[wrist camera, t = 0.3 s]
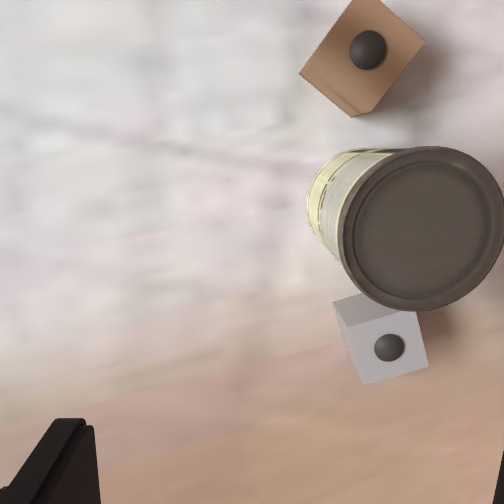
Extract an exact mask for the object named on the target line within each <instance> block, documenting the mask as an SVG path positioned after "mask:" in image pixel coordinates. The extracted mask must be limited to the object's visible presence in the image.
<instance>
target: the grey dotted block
mask: <svg viewBox="0 0 504 504" xmlns="http://www.w3.org/2000/svg"><path fill="white" fill-rule="evenodd" d="M332 303H333V306H334V309H335V313H336V316H337V320H338V323H339V326H340V330H341V333H342V337H343V340H344V343H345V347H346V350H347V353H348V355H349V357H350V359H351V361H352V363H353V365H354V367H355V369H356V371H357V373H358V375H359V377H360V379H361V381H362V382H363V384H364V386H365V385H368V384H371V383H375V382H378V381H382V380H385V379H388V378H392V377H395V376H398V375H402V374H405V373H408V372H412V371H415V370H418V369H422V368H425V367H428V366H429V365H428V361H427V357H426V352H425V348H424V344H423V340H422V336H421V331H420V327H419V323H418V319H417V315H416V312H408V311H400V310H396V309H392V308H388V307H386V306H383V305H381V304H379V303H377V302H375V301H373V300H371V299H370V298H369V297H367V296H366V295H365V294H363V293H361V294H358V295H355V296H351V297H348V298H345V299H342V300H339V301H335V302H332Z"/></svg>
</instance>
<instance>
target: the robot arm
mask: <svg viewBox="0 0 504 504" xmlns="http://www.w3.org/2000/svg"><path fill="white" fill-rule="evenodd" d="M0 504H101V500H100V489H99V478H98V467H97V456H96V446H95V435H94V428H93V426H91V425H86V421H85V419H83V418H57V419H55V420H54V421H53V423H52V424H51V425H50V427H49V428H48V430H47V431H46V433H45V434H44V436H43V437H42V438H41V440H40V441H39V443H38V444H37V446H36V447H35V449H34V450H33V451H32V453H31V454H30V456H29V457H28V459H27V460H26V462H25V463H24V465H23V466H22V467H21V469H20V470H19V472H18V473H17V475H16V476H15V478H14V479H13V480H12V482H11V483H10V485H9V486H5V487H3V488H1V489H0ZM493 504H504V451H503V456H502V461H501V466H500V471H499V475H498V480H497V485H496V490H495V495H494V499H493Z"/></svg>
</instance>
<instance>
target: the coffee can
mask: <svg viewBox="0 0 504 504" xmlns="http://www.w3.org/2000/svg"><path fill="white" fill-rule="evenodd" d="M306 213H307V218H308V222H309V225H310V227H311V229H312V231H313V233H314V234H315V236H316V237H317V239H318V240H319V241H320V242H321V243H322V244H323V245H325V246H326V248H327V249H328V250H329V251H330V252H331V254H332V255H333V256H334V257H335V258H336V259H337V261H338V262H339V263H340V264H341V265H342V267H343V268H344V269H345V271H346V273H347V274H348V276H349V277H350V279H351V280H352V282H353V283H354V284H355V285H356V287H357V288H358V289H359V290H360V291H361V292H362V293H363V294H365V295H366V296H367V297H369V298H370V299H371V300H373V301H375V302H377V303H379V304H381V305H383V306H386V307H388V308H392V309H396V310H400V311H408V312H420V311H429V310H433V309H437V308H440V307H443V306H446V305H448V304H451V303H453V302H455V301H457V300H458V299H460V298H462V297H464V296H465V295H467V294H468V293H470V292H471V291H472V290H473V289H474V288H476V287H477V286H478V285H479V284H480V283H481V282H482V280H484V278H485V277H486V275H487V274H488V273H489V272H490V270H491V269H492V267H493V266H494V264H495V262H496V260H497V258H498V256H499V254H500V252H501V249H502V246H503V243H504V198H503V195H502V192H501V189H500V187H499V185H498V183H497V182H496V180H495V179H494V177H493V176H492V174H491V173H490V172H489V171H488V170H487V168H485V167H484V166H483V165H482V164H481V163H480V162H478V161H477V160H476V159H474V158H473V157H471V156H470V155H468V154H465V153H463V152H461V151H458V150H455V149H451V148H446V147H440V146H422V147H415V148H409V149H368V148H359V149H353V150H348V151H345V152H342V153H340V154H338V155H336V156H334V157H333V158H331V159H330V160H329V161H327V162H326V163H325V164H324V165H323V166H322V167H321V168H320V169H319V171H318V172H317V173H316V175H315V176H314V178H313V180H312V181H311V184H310V187H309V190H308V193H307V199H306Z"/></svg>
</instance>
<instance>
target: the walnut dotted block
mask: <svg viewBox="0 0 504 504" xmlns="http://www.w3.org/2000/svg"><path fill="white" fill-rule="evenodd" d="M424 43H425V41H424V40H422V39H421V38H420V37H419V36H418V35H417V34H416V33H415V32H414V31H413V30H412V29H410V28H409V27H408V26H407V25H406V24H405V23H404V22H403V21H402V20H401V19H400V18H398V17H397V16H396V15H395V14H394V13H393V12H392V11H391V10H390V9H389V8H388V7H386V6H385V5H384V4H383V3H382V2H381V1H380V0H352V1H351V2H350V4H349V5H348V6H347V8H346V9H345V10H344V12H343V13H342V14H341V16H340V17H339V19H338V20H337V21H336V23H335V24H334V26H333V27H332V28H331V30H330V31H329V32H328V34H327V35H326V37H325V38H324V39H323V41H322V42H321V44H320V45H319V46H318V48H317V49H316V50H315V52H314V53H313V55H312V56H311V57H310V59H309V60H308V62H307V63H306V64H305V66H304V67H303V68H302V70H301V71H300V73H299V75H301V76H302V77H303V78H304V79H305V80H307V81H308V82H309V83H310V84H311V85H313V86H314V87H315V88H316V89H317V90H319V91H320V92H321V93H322V94H323V95H325V96H326V97H327V98H328V99H329V100H330V101H332V102H333V103H334V104H335V105H336V106H338V107H339V108H340V109H341V110H342V111H344V112H345V113H346V114H347V115H348V116H350V117H353V116H357V115H360V114H364V113H367V112H371V111H372V110H373V108H374V107H375V106H376V105H377V103H378V102H379V101H380V99H381V98H382V97H383V96H384V94H385V93H386V92H387V90H388V89H389V88H390V87H391V85H392V84H393V83H394V81H395V80H396V79H397V78H398V76H399V75H400V74H401V72H402V71H403V70H404V69H405V67H406V66H407V65H408V63H409V62H410V61H411V60H412V58H413V57H414V56H415V54H416V53H417V52H418V51H419V49H420V48H421V47H422V45H423V44H424Z"/></svg>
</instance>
